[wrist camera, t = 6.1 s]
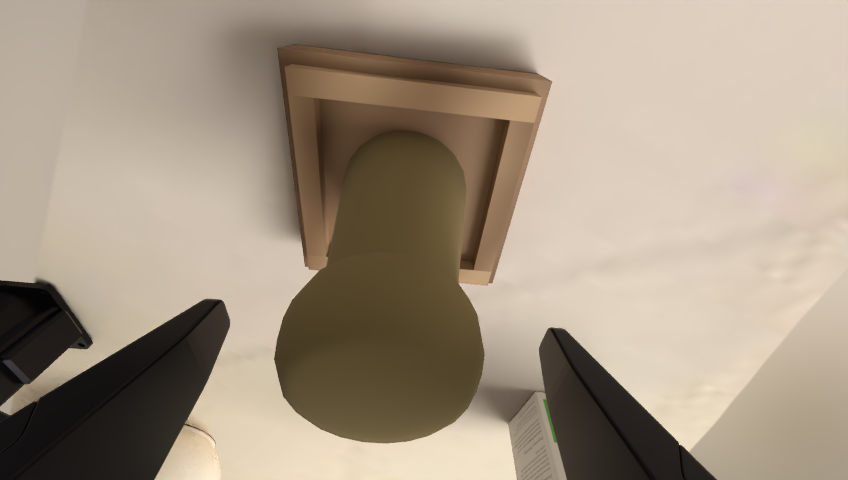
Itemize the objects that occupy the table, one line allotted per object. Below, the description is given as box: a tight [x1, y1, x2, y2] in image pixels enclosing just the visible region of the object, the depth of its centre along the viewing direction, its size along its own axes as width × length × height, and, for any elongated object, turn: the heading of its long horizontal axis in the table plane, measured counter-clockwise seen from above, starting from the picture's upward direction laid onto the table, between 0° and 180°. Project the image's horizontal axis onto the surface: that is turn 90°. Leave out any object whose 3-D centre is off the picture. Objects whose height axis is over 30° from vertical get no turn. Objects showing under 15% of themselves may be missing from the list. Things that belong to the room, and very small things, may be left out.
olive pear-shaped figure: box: [274, 130, 484, 443], centre depth 12 cm, size 6×6×11 cm
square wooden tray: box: [277, 45, 552, 286], centre depth 17 cm, size 11×11×3 cm
